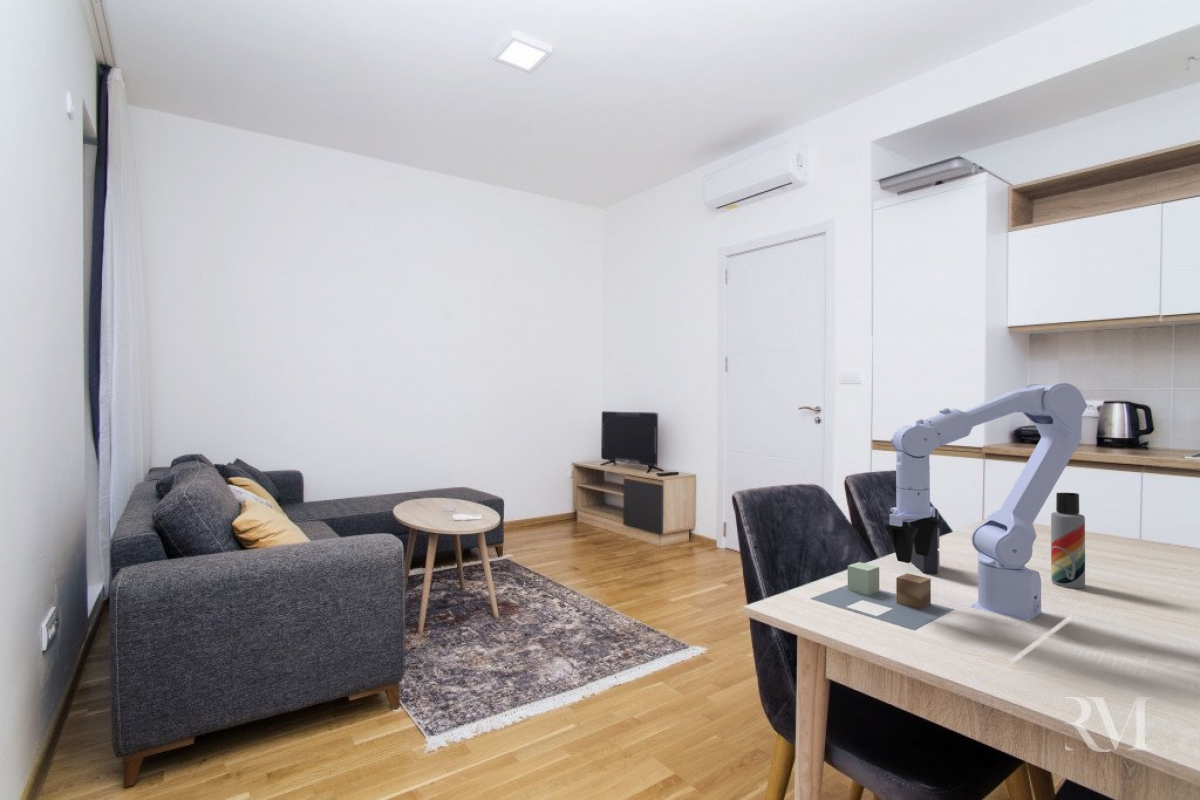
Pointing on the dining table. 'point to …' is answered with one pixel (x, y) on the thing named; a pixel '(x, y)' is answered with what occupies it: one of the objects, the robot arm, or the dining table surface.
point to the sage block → (863, 578)
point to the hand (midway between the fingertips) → (913, 558)
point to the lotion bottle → (1068, 542)
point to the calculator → (932, 560)
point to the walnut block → (913, 591)
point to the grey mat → (882, 607)
